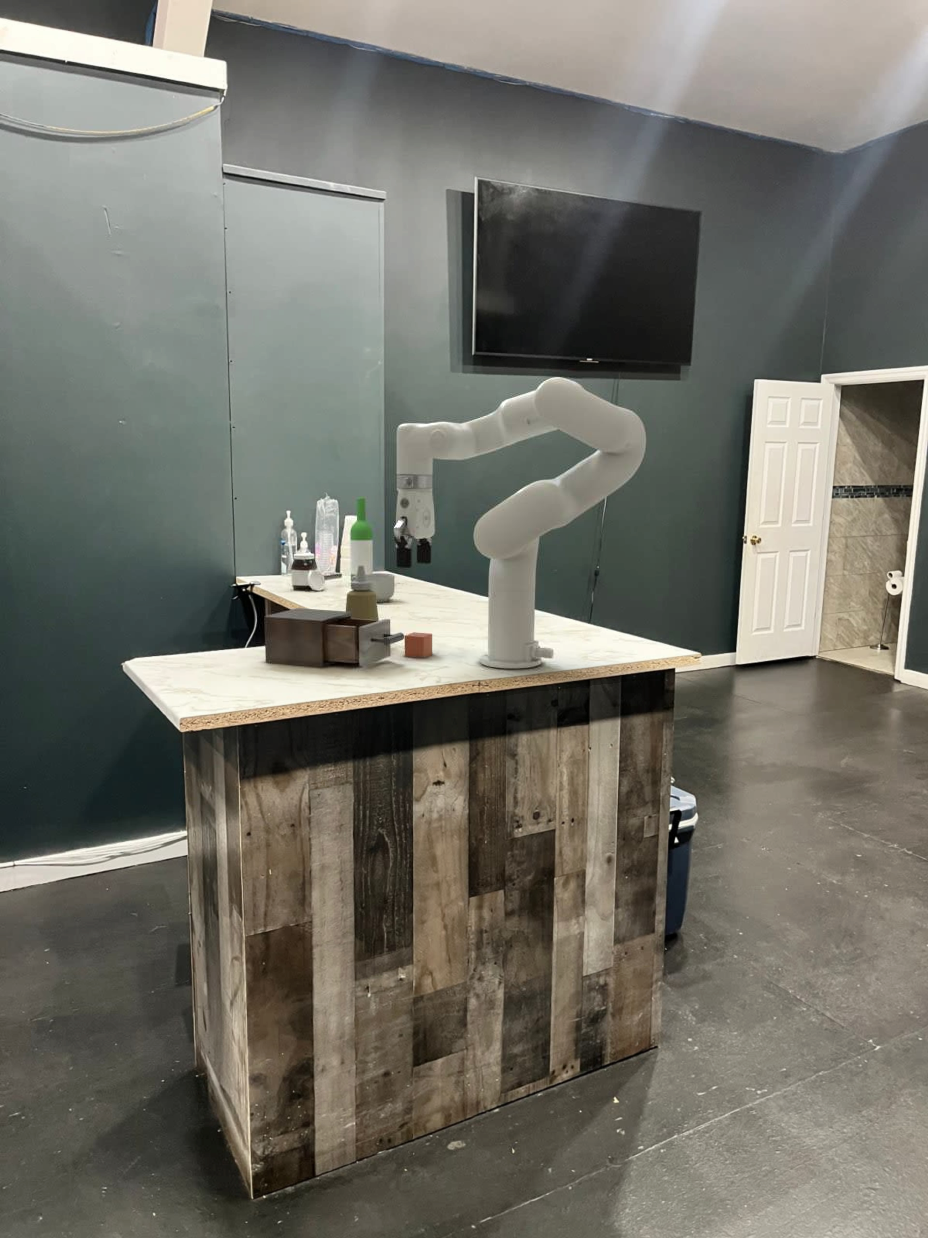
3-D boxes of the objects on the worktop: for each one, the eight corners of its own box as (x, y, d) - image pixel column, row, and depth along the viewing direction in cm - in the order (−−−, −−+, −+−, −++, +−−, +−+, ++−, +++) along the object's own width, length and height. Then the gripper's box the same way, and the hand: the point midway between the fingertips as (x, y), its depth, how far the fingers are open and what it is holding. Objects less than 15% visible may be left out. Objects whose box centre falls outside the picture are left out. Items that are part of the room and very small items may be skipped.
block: (432, 654, 199) (432, 633, 198) (423, 658, 195) (423, 637, 194) (413, 652, 201) (413, 632, 200) (404, 656, 197) (404, 635, 196)
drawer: (409, 657, 191) (409, 620, 189) (384, 668, 180) (384, 629, 179) (338, 651, 197) (337, 615, 196) (310, 661, 186) (309, 623, 185)
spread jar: (298, 587, 314) (297, 552, 313) (330, 587, 313) (330, 553, 311) (286, 591, 303) (286, 556, 301) (320, 592, 301) (319, 556, 299)
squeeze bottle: (373, 648, 205) (373, 568, 202) (339, 647, 207) (337, 567, 204) (384, 642, 213) (383, 564, 210) (350, 640, 214) (349, 563, 212)
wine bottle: (348, 584, 322) (346, 498, 317) (354, 582, 329) (353, 497, 325) (369, 585, 320) (368, 498, 316) (375, 582, 328) (374, 497, 323)
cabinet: (353, 656, 196) (352, 611, 195) (322, 667, 185) (321, 620, 183) (298, 651, 201) (297, 608, 200) (265, 662, 190) (264, 616, 188)
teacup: (402, 600, 283) (401, 574, 282) (380, 604, 274) (380, 577, 273) (366, 596, 290) (366, 571, 289) (344, 600, 281) (343, 574, 280)
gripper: (413, 484, 183) (412, 570, 186) (447, 483, 199) (446, 562, 202) (379, 483, 186) (379, 568, 189) (415, 483, 202) (415, 561, 205)
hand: (414, 565), depth 195 cm, fingers open, 9 cm apart
